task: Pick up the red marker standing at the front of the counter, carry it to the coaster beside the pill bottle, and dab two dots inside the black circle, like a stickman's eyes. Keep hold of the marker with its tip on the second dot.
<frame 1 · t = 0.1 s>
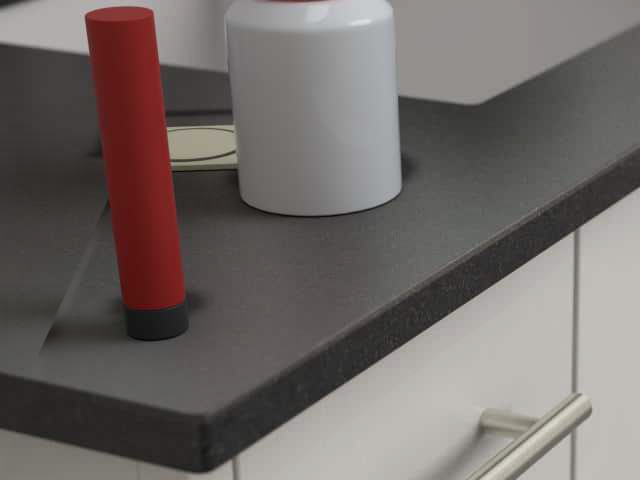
coaster: (191, 150, 85), on the table
pill bottle: (321, 194, 79), on the table
marker: (157, 328, 64), on the table
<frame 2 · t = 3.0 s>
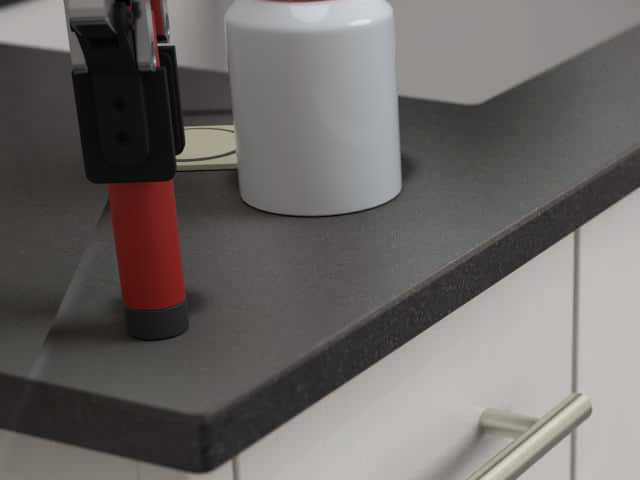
hand: (137, 163, 60), 7 cm above the table, tool pointing down, fingers closed on marker, 2 cm apart
marker: (158, 328, 64), on the table, touching gripper
everything else where it was.
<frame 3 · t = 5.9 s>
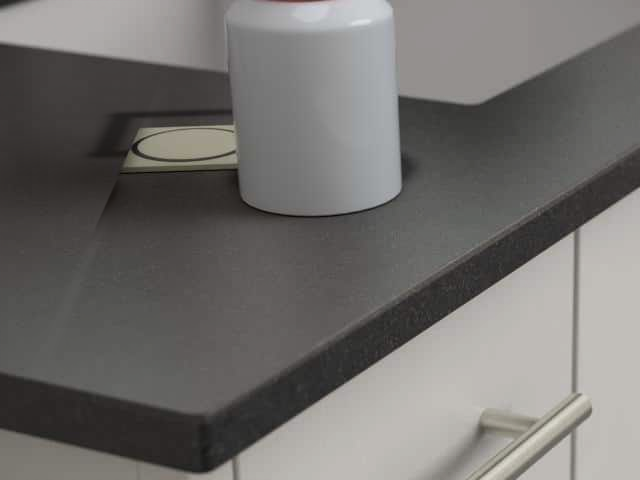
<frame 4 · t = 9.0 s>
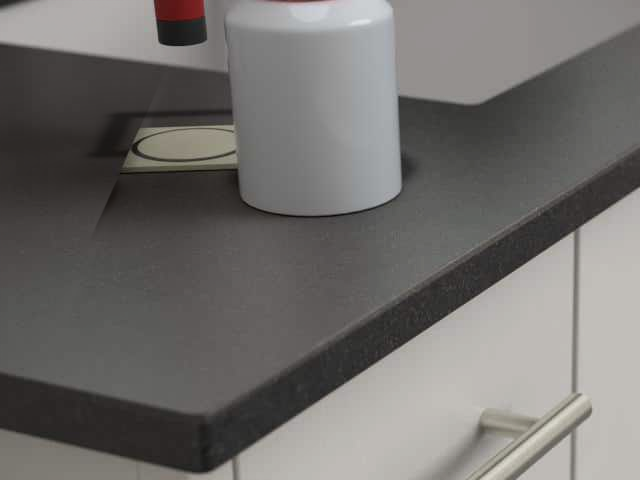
marker: (183, 40, 81), point 6 cm above the table, touching gripper
everything else where it was.
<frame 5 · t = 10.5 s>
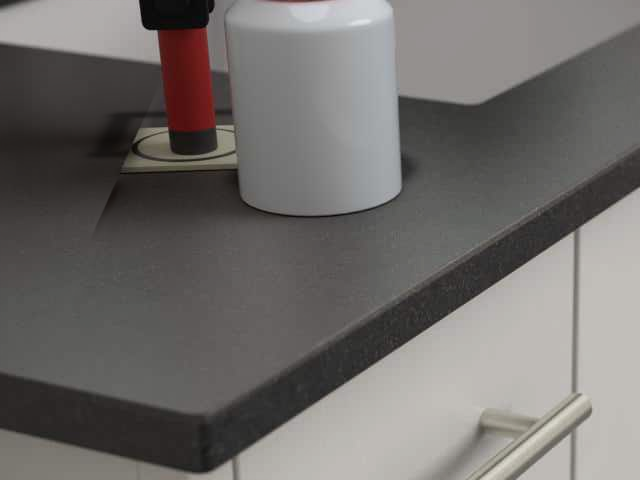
hand: (179, 17, 81), 7 cm above the table, tool pointing down, fingers closed on marker, 2 cm apart
marker: (194, 148, 84), resting on coaster, touching gripper
everything else where it was.
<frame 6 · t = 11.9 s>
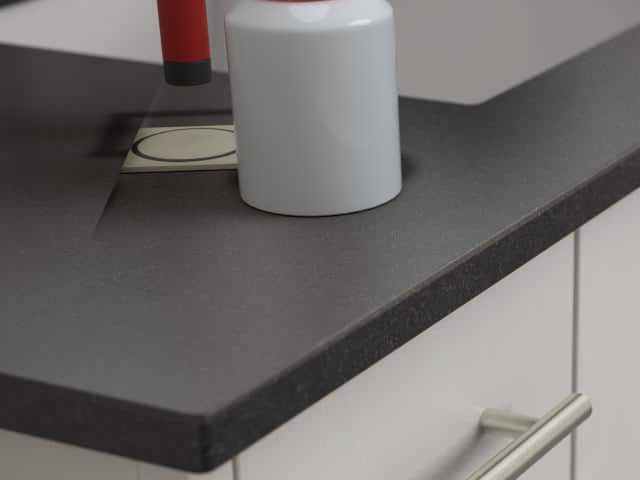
marker: (188, 80, 84), point 3 cm above the table, touching gripper
everything else where it was.
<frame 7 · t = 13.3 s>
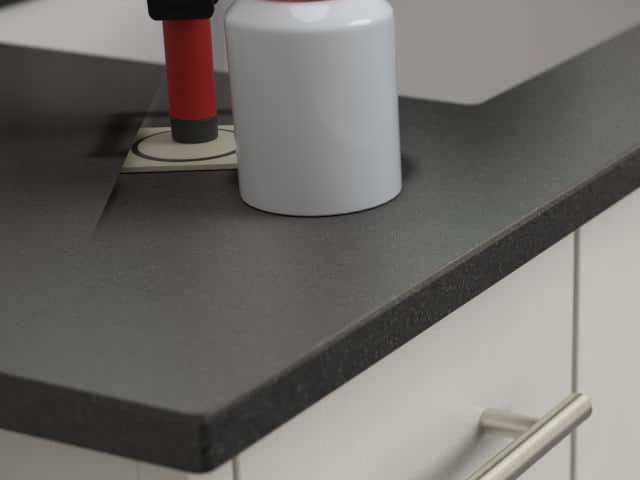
hand: (185, 8, 82), 7 cm above the table, tool pointing down, fingers closed on marker, 2 cm apart
marker: (195, 137, 85), resting on coaster, touching gripper
everything else where it was.
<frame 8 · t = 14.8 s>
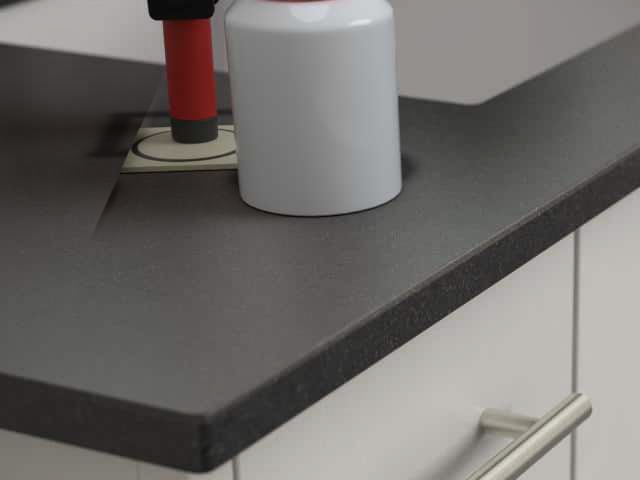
hand: (185, 8, 82), 7 cm above the table, tool pointing down, fingers closed on marker, 2 cm apart
marker: (195, 137, 85), resting on coaster, touching gripper
everything else where it was.
at the end: the gripper is holding marker; marker touching gripper, coaster; marker 1.1 cm off-centre on the coaster, point 0.4 cm above the coaster's base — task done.
